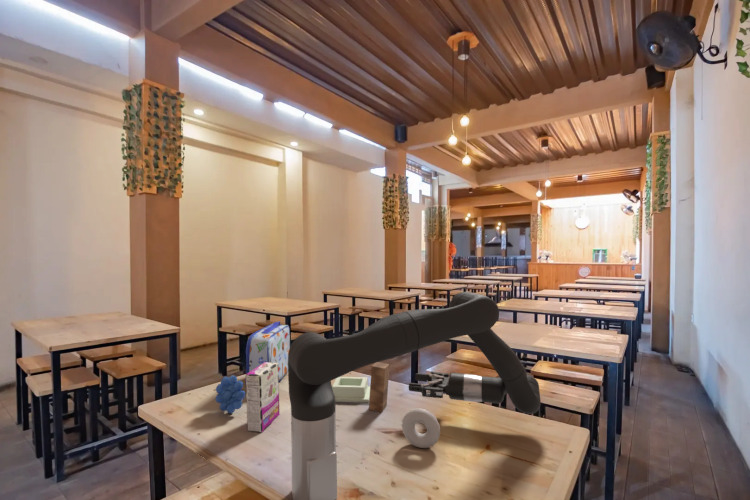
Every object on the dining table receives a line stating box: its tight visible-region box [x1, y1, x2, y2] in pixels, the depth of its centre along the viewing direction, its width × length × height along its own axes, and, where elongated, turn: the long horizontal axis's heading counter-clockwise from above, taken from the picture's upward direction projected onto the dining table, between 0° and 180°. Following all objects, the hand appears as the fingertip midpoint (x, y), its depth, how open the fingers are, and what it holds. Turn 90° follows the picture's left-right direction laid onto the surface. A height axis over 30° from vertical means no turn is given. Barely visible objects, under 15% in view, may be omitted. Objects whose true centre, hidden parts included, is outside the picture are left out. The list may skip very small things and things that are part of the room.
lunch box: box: [244, 321, 291, 385], centre depth 143 cm, size 28×10×22 cm, turn 176°
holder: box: [332, 376, 370, 403], centre depth 128 cm, size 14×12×4 cm
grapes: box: [215, 375, 246, 414], centre depth 117 cm, size 12×7×12 cm, turn 66°
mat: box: [331, 384, 369, 406], centre depth 128 cm, size 18×16×1 cm
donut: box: [401, 407, 441, 449], centre depth 95 cm, size 10×4×10 cm, turn 69°
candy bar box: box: [245, 362, 281, 433], centre depth 109 cm, size 11×5×16 cm, turn 168°
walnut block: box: [368, 361, 390, 413], centre depth 117 cm, size 4×4×14 cm
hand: (412, 381), depth 114 cm, fingers open, 8 cm apart
